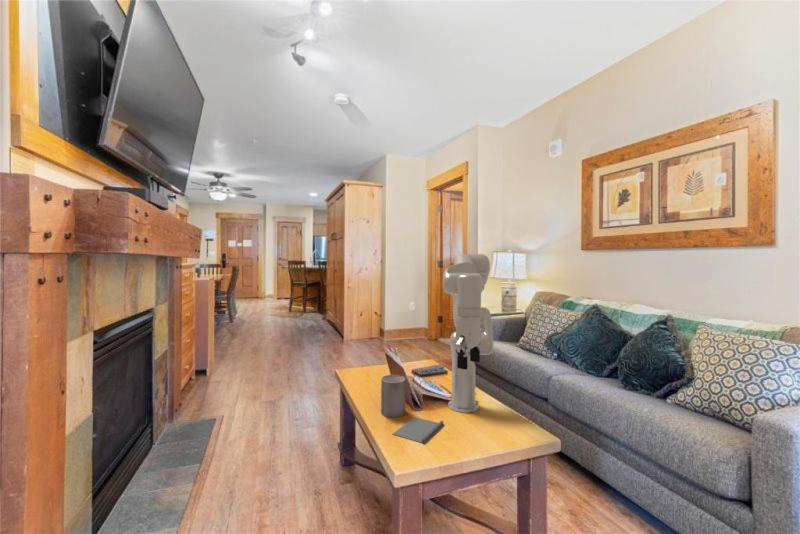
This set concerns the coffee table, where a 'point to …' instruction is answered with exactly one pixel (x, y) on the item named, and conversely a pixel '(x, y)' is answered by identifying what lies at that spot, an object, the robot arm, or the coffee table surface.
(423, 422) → the slate mat
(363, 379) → the coffee table surface
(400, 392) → the pillar candle
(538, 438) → the coffee table surface
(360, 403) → the coffee table surface
